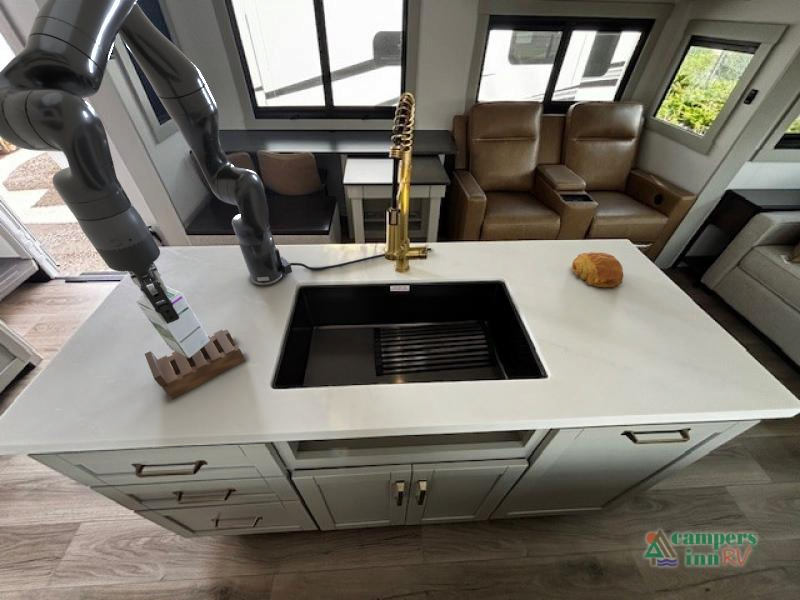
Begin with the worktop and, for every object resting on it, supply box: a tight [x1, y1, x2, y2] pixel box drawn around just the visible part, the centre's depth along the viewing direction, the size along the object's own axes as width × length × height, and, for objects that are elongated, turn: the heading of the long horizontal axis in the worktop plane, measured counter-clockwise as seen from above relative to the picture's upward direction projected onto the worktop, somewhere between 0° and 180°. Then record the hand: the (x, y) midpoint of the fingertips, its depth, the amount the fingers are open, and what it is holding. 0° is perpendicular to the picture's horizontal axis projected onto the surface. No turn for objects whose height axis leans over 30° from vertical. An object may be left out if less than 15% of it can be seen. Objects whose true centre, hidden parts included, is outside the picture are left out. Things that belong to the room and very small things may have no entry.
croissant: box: [571, 251, 624, 288], centre depth 104 cm, size 14×16×8 cm
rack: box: [144, 328, 246, 400], centre depth 73 cm, size 16×8×8 cm, turn 132°
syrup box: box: [135, 285, 210, 358], centre depth 65 cm, size 6×6×14 cm
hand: (167, 309), depth 63 cm, fingers closed on syrup box, 7 cm apart
